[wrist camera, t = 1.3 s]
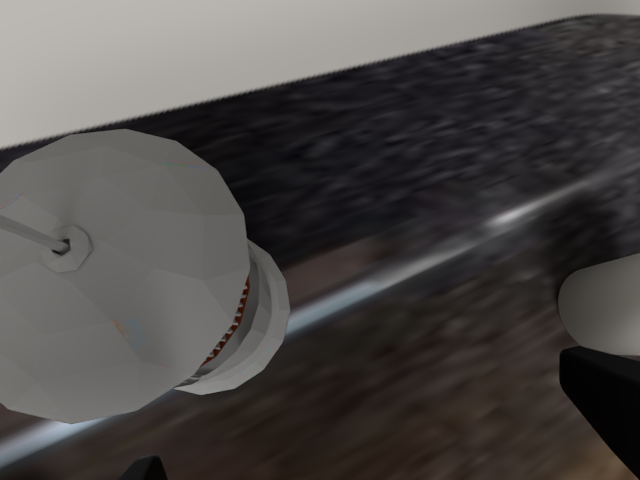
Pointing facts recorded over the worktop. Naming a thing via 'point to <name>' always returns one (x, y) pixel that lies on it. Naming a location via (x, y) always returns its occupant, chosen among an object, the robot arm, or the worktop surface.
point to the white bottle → (604, 306)
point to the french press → (127, 279)
